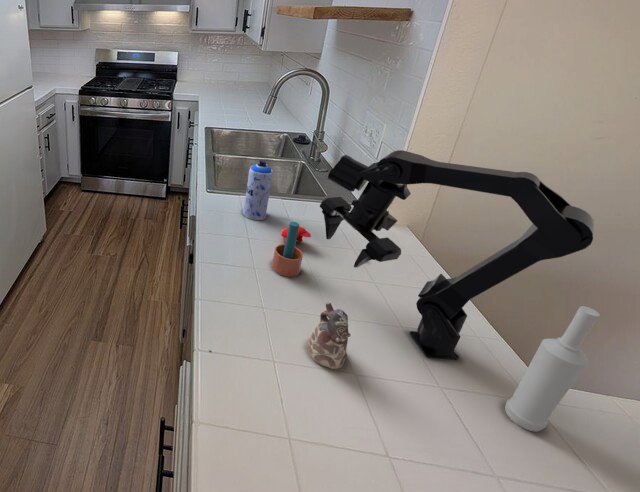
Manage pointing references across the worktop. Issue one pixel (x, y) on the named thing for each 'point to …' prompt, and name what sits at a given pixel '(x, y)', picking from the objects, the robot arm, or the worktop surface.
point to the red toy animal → (301, 233)
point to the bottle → (551, 374)
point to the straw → (291, 240)
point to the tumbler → (286, 262)
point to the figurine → (330, 338)
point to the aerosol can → (258, 191)
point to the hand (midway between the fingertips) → (341, 252)
